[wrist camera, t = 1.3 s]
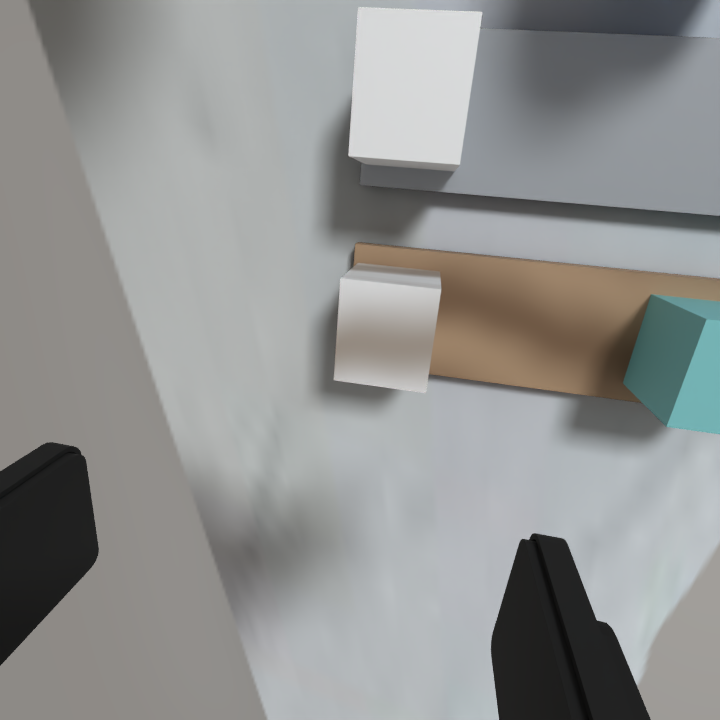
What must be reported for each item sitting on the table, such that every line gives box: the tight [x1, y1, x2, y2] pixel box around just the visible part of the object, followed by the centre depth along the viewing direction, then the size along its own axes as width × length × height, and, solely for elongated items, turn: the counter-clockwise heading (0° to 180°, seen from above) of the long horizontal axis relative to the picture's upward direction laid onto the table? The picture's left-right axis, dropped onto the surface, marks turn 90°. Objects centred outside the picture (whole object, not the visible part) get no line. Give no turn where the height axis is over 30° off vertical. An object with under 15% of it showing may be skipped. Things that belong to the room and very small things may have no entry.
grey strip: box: [348, 7, 720, 216], centre depth 18 cm, size 7×26×6 cm, turn 85°
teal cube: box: [623, 294, 720, 434], centre depth 21 cm, size 5×5×5 cm
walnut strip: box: [334, 242, 720, 403], centre depth 22 cm, size 7×26×6 cm, turn 85°
